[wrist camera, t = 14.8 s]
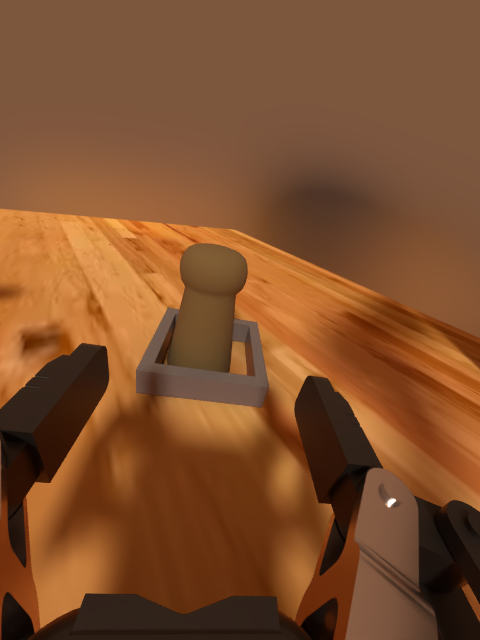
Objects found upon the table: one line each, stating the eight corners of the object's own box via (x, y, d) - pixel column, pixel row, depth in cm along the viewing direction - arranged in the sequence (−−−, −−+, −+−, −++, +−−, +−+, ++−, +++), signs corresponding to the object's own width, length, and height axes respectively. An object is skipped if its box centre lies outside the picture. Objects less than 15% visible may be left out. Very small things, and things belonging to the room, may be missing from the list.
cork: (242, 370, 23) (273, 260, 18) (189, 395, 19) (208, 263, 14) (206, 337, 27) (223, 237, 21) (155, 353, 23) (160, 234, 17)
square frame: (252, 338, 28) (257, 322, 27) (261, 407, 20) (269, 387, 19) (166, 325, 27) (168, 307, 26) (136, 392, 18) (136, 370, 17)
